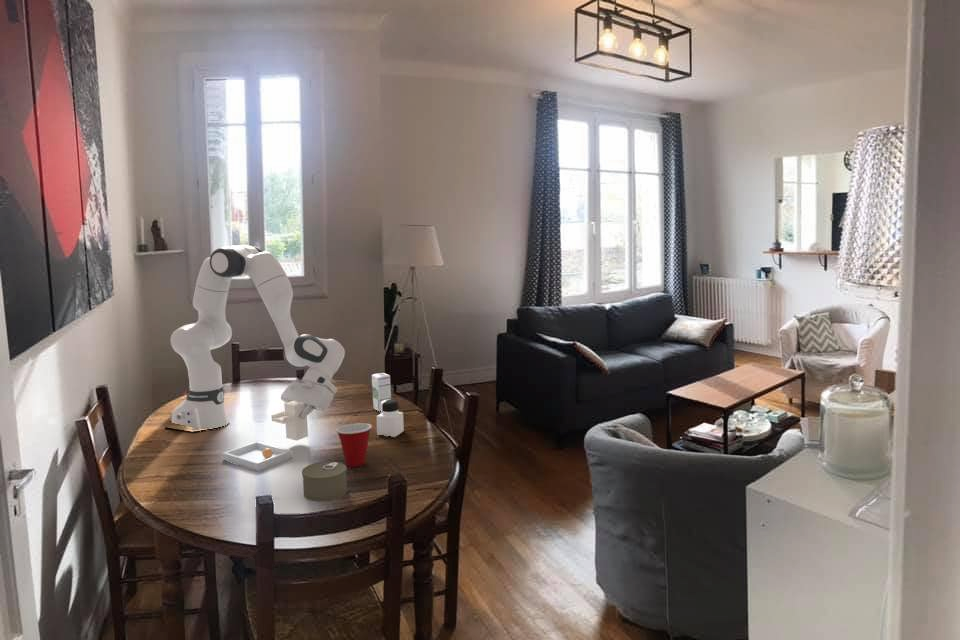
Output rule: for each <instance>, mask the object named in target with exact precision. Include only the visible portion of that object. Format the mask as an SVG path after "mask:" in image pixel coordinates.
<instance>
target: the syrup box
mask: <svg viewBox="0 0 960 640" xmlns="http://www.w3.org/2000/svg"><path fill="white" fill-rule="evenodd" d="M371 388H372V389H371V390H372V407H373V408H372V409H373V410H374V409H375V410H374V411H376V410H377V411H376V412H378V411H379V412H378V413H381V412H380V411H381V402H382V401H384V400H388V399H392V392H391V391H392V389H391V388H392V387H391V375H390V374H387V373H385V372H380V373H379V372H378V373H374V374H371Z"/></svg>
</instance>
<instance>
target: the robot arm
mask: <svg viewBox="0 0 960 640" xmlns="http://www.w3.org/2000/svg"><path fill="white" fill-rule="evenodd" d="M245 276H248V277H249V278H250V279H251V280H252V281H253V285H255V288H256V290H257V292H258V294H259V296H260V298H261V299H262V302H263V303H264V305H265V307H266V310H267V312H268V314H269V316H270V319H271V321H272V323H273V325H274V328H275V330H276V332H277V335H278V337H279V339H280V342H281V345H282V355H283V356H282V358H283V361H284V363H285V364H286V365H287V367H289V368H290V369H292V370H296V371H302V370H305V369H306V368H307V371H306V372H305V373H304V375H303V377H302V379H300V378H298V379H297V378H296V379H295V380H293V381H291V382H290V383H289V384H288V385H287V387H285V389H284V391H283V392H282V393H281V395H280V399H281V401H283V402H284V403H287V402H291V401H299V402H304V404H306V409H305V410H304V411H303V412H301V413H300V415H299V418H300V419H305V418H306V416H307V417H308V415H310V414H311V413H312V412H313V411H314V410H318V411H321V412H324V411H326V410H327V409H328V408H329V406H330V405H331V403H332V401H333V399H334V397H335V394H336V393H337V392H338V388H337V387H336V386H335V385H334V384H333V383H332V379H333V376H334V375H335V374H336V373H337V371H338V370H339V368H340V366H341V364H342V362H343V360H344V358H345V354H346V351H345V347H344V346H343V345H342V344H341V343H340V342H339V341H338V340H336V339H335V338H321V337H318V336H317V337H316V336H314V335H312V334H309V333H304V334H301V335H299V333H298V331H297V329H296V326H295V324H294V322H293V319H292V317H291V316H292V315H291V305H292V301H293V297H294V290H293V288H292V287H293V286H292V284H291V281H290V279H289V276H287V273H286V272H285V269H284V268H283V266H282V265H281V263H280V261H279V260H278V258H276V256H275V255H274V254H273V253H272V252H269V251H263V250H262V249H261V248H260V247H258V246H255V245H252V244H247V245H245V244H235V245H230V246H222V247H219V248H217V249H214V250H213V252H212V253H211V255H210V256H209V257H207V258H205V259H204V260H203V262H202V265H201V266H200V269H199V272H198V275H197V279H196V283H195V289H194V294H193V297H192V306H193V308H194V309H195V310H196V311H197V313H198V318H197V319H198V320H197V321H196V322H193V323H188V324H184V325H183V326H180V327H178V328H177V329H175V330H174V331H173V332H172V333H171V335H170V345H171V348H172V349H173V350H174V352H175V353H177V354H178V355H179V356H181V358H182V360H183V361H184V363H185V366H186V369H187V374H188V375H187V376H188V382H189V383H188V384H189V389H188V390H185V391H184V392H183V396H185V395H186V398H185V399H184V401H181V403H180V404H179V405H178V406H176V407H175V408H174V409H173V411H172V412H171V421H172V423H175V424H180V425H185V426H189V427H192V428H194V429H192V430H199V429H210V428H218V427H221V428H223V427H222V426H224V427H226V426H228V425H229V424H230V421H229V417H228V415H227V410H226V405H225V402H224V401H225V389H224V386H223V382H222V381H223V380H222V379H223V378H222V367H221V365H220V364H219V363H218V362H217V361H215V360H214V359H213V356H212V353H211V350H215V349H218V348H221V347H222V346H224V345H226V344H227V343H229V342H230V340H231V339H232V337H233V336H232V335H233V331H232V330H233V329H232V327H231V325H230V324H229V323H228V322H227V318H226V317H227V316H226V307H227V301H228V296H229V291H230V287H231V282H232V279H233V278H242V277H245ZM228 423H229V424H228ZM227 424H228V425H227ZM225 425H226V426H225ZM218 429H219V428H218Z"/></svg>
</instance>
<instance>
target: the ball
mask: <svg viewBox="0 0 960 640" xmlns="http://www.w3.org/2000/svg"><path fill="white" fill-rule="evenodd" d="M262 455H263V457H264V458H270V457H272V455H273V451H272V450H271V449H270V448H266V449H264V450H263V452H262Z"/></svg>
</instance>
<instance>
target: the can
mask: <svg viewBox="0 0 960 640" xmlns="http://www.w3.org/2000/svg"><path fill="white" fill-rule="evenodd" d="M347 467H348V466H347V465H346V464H344V463H342V462H339V461H321V462H314V463H312V464H309V465H306V466H305V467H304V468H302V471H301V475H302V484H303V487H302V488H303V497H304V498H305V499H306V500H308V501H311V502H318V503H319V502H320V503H321V502H329V501H334V500H337V499H340V498H342V497H343V496H344V495H346V494H347V492H348V489H347V470H348V469H347Z"/></svg>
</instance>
